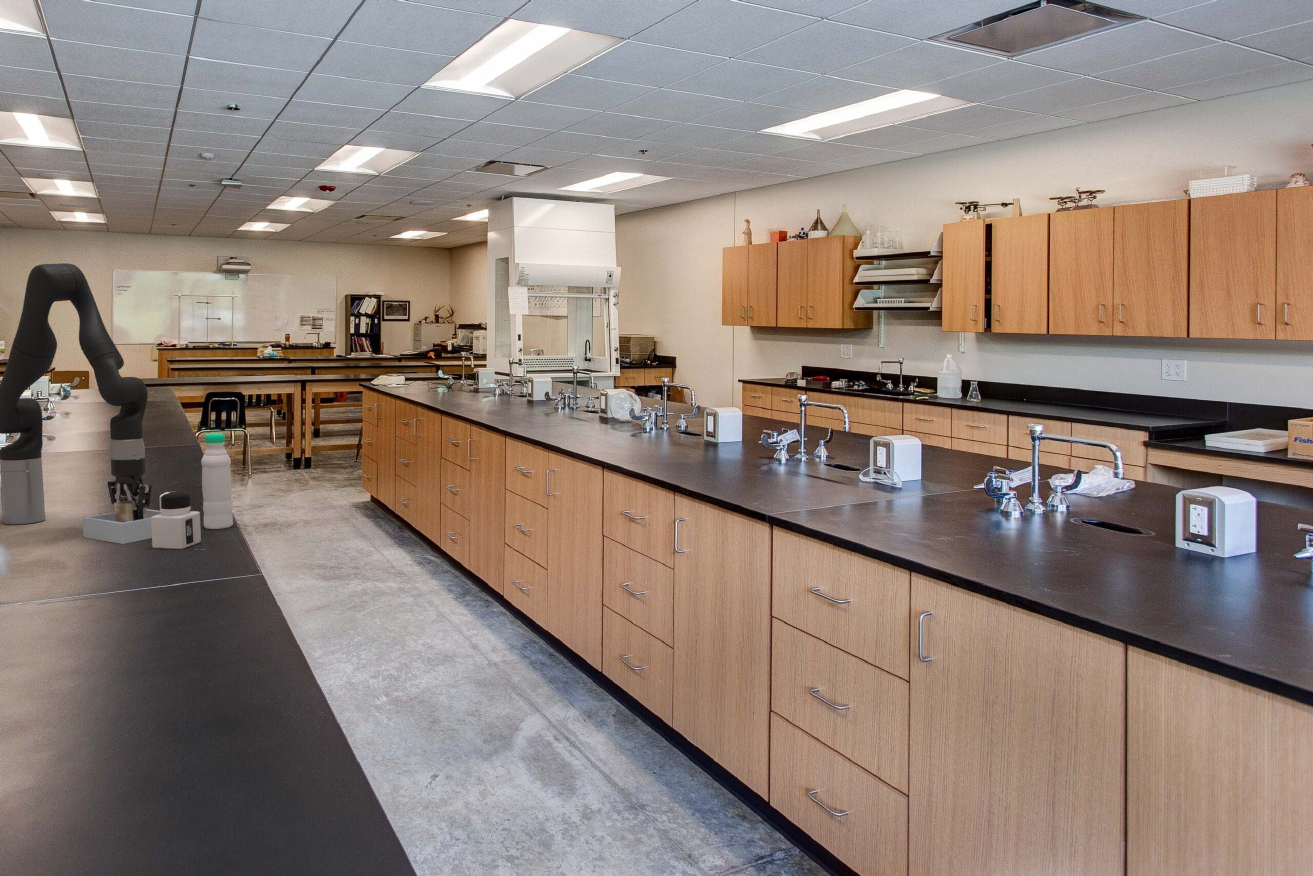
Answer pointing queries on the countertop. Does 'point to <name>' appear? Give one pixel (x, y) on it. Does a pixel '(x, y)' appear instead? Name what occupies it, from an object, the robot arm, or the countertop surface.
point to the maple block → (125, 511)
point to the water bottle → (216, 483)
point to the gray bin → (118, 528)
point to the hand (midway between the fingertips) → (131, 522)
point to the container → (175, 522)
